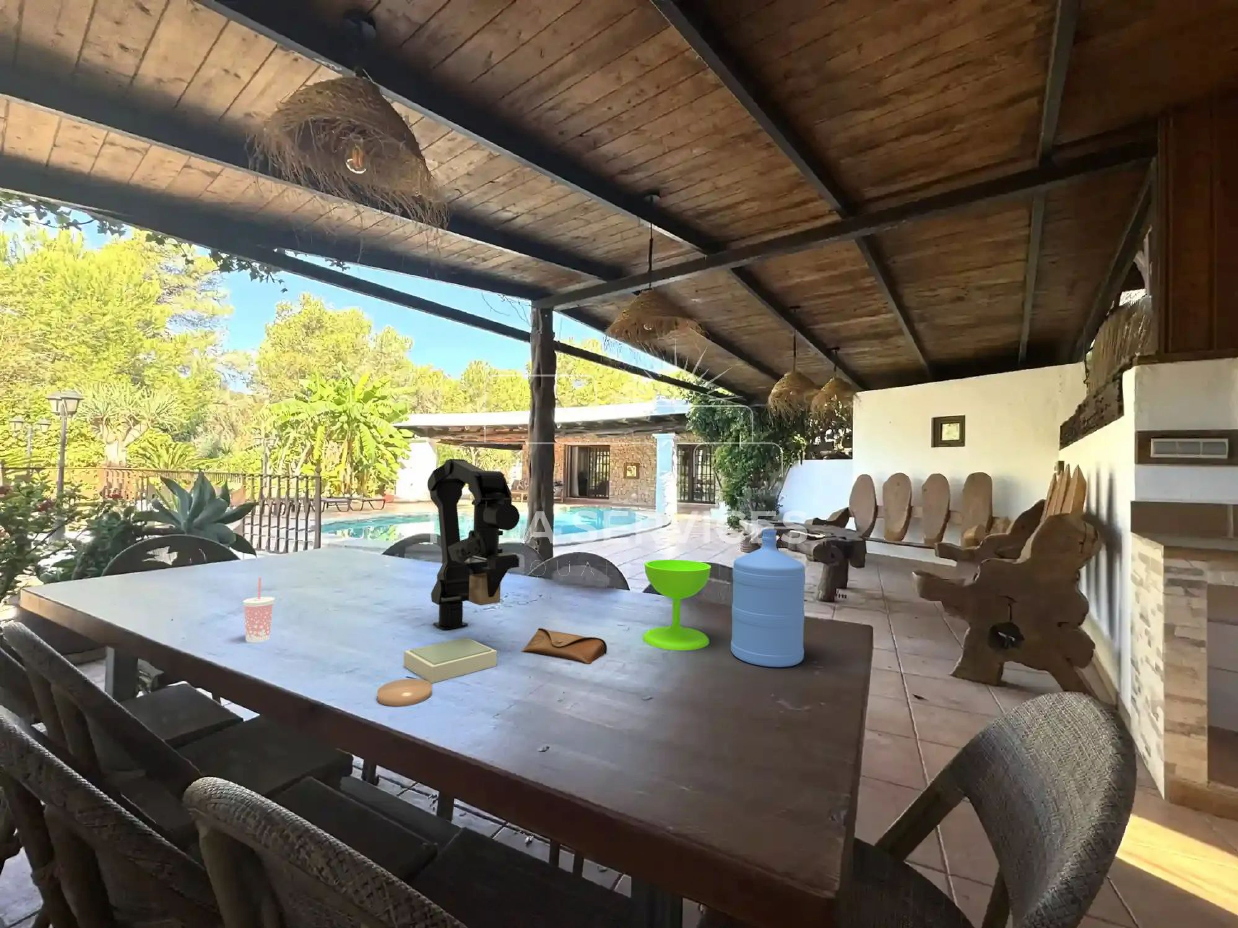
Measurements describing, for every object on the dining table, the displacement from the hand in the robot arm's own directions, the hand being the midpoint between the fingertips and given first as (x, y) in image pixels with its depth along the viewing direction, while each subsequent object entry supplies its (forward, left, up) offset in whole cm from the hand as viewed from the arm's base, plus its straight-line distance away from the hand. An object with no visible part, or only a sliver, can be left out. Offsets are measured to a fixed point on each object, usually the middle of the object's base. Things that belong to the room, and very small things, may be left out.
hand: (484, 594), depth 125 cm
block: (0, 0, -2) cm, 2 cm away
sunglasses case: (+15, +11, -12) cm, 22 cm away
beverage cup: (-37, -36, -12) cm, 53 cm away
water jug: (+47, +43, -12) cm, 65 cm away
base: (+7, -12, -12) cm, 18 cm away
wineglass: (+26, +37, -12) cm, 47 cm away
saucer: (+15, -25, -12) cm, 31 cm away
